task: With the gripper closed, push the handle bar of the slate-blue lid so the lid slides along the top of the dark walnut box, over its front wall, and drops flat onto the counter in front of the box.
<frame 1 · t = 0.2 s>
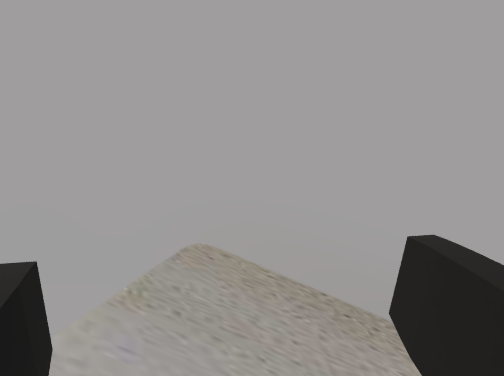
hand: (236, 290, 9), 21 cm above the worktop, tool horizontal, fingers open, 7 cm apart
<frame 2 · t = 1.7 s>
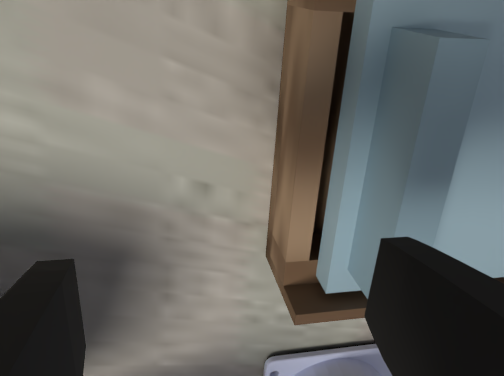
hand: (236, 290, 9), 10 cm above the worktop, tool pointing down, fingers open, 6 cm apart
lid: (474, 148, 17), point 3 cm above the worktop, touching lid box
lid box: (432, 126, 20), on the worktop
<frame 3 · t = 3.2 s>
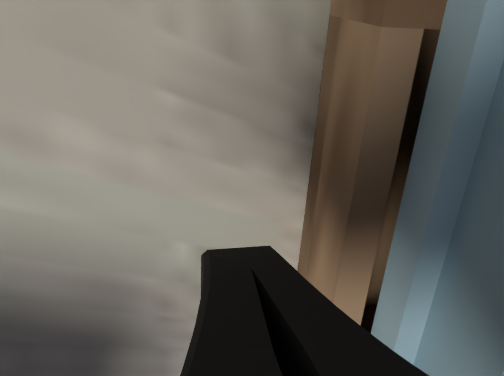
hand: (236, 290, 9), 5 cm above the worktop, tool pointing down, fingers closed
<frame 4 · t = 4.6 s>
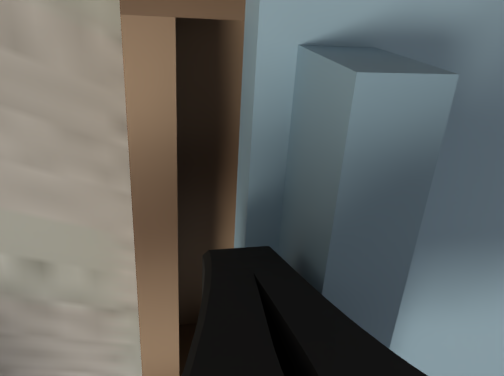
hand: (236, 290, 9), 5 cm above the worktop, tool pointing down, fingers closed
lid: (452, 217, 12), point 3 cm above the worktop, touching lid box
lid box: (370, 175, 14), on the worktop
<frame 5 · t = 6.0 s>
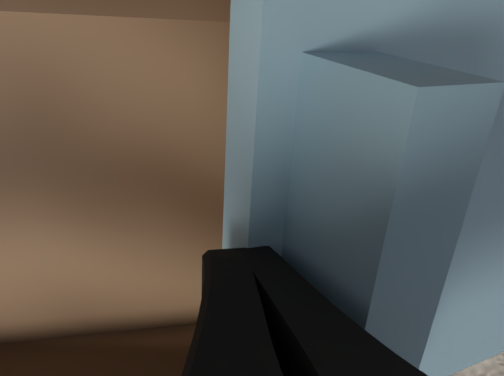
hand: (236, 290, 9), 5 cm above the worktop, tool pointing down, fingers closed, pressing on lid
lid: (424, 213, 12), point 3 cm above the worktop, tilted 14°, touching gripper, lid box
lid box: (108, 184, 13), on the worktop
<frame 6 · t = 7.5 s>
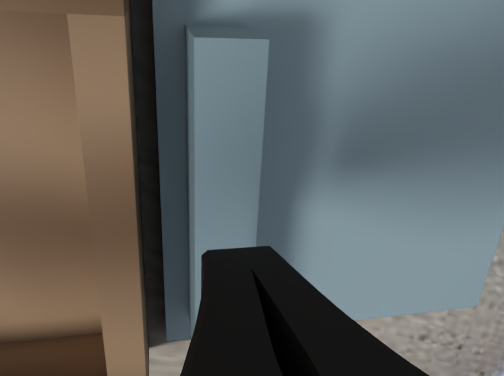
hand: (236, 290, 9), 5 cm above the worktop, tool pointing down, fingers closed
lid: (342, 169, 15), on the worktop
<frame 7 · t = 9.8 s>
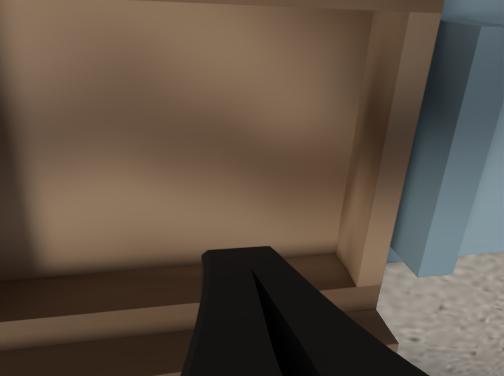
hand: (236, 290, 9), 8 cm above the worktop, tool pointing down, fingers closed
lid: (501, 129, 19), on the worktop
lid box: (176, 142, 16), on the worktop
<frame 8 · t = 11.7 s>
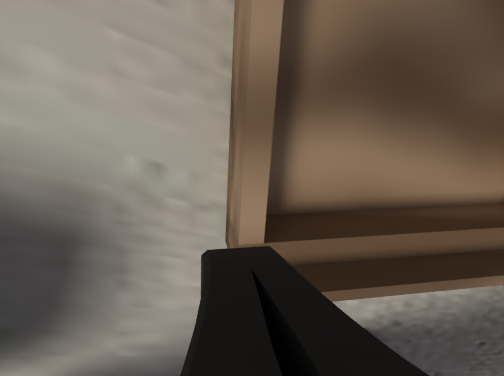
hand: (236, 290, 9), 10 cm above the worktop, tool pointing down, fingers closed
lid box: (396, 104, 19), on the worktop
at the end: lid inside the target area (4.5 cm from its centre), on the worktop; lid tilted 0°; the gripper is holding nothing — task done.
